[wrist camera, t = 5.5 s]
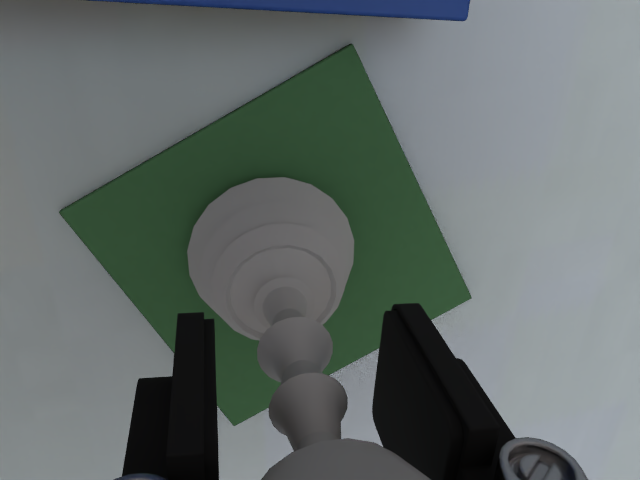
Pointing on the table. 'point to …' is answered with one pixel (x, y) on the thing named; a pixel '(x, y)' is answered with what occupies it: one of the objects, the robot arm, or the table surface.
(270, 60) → the table surface
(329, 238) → the chalice
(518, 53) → the table surface
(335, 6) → the brush
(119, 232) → the green cloth
